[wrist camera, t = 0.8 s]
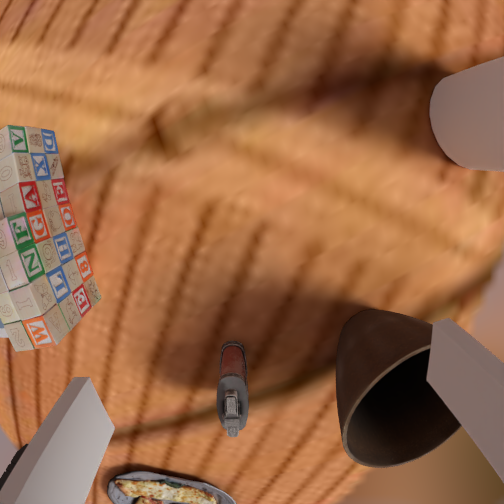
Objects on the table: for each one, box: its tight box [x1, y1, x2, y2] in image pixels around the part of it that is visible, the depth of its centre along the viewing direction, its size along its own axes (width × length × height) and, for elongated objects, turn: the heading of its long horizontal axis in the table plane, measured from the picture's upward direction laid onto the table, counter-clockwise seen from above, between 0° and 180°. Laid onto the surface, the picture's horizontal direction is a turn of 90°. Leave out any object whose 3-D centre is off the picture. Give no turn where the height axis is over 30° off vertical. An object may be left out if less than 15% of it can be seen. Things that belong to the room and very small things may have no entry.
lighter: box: [217, 341, 249, 437], centre depth 34 cm, size 8×3×10 cm, turn 0°
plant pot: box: [336, 309, 462, 468], centre depth 31 cm, size 15×15×16 cm
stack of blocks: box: [0, 125, 101, 352], centre depth 28 cm, size 21×6×12 cm, turn 14°
